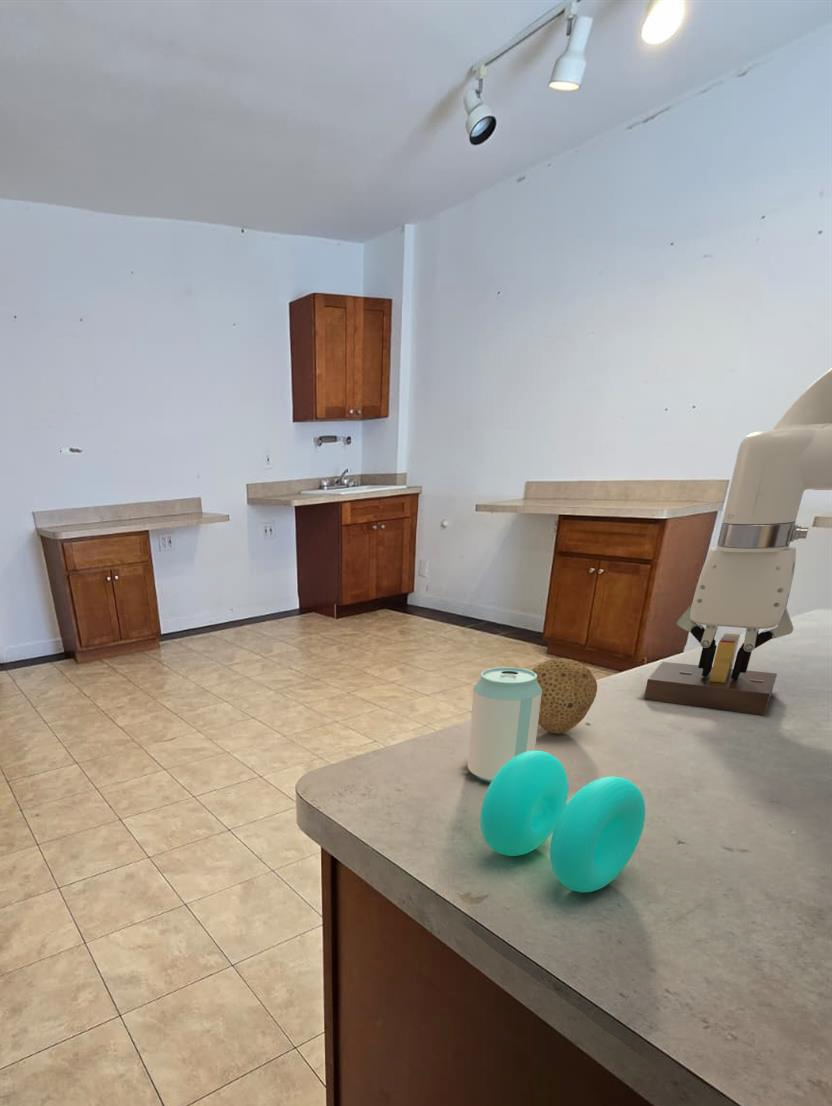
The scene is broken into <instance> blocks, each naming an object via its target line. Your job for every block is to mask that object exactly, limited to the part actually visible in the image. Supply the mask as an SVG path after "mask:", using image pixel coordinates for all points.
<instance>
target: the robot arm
mask: <svg viewBox="0 0 832 1106" xmlns="http://www.w3.org/2000/svg"><path fill="white" fill-rule="evenodd" d="M806 490H813V491H832V368H830V369H829V370H828V371H826V372H825V373H823V375H821V376H820V377H819V378H817V379H816V380H815V381H813V382H812V384H810V385H809V386H808V387H807V388H806V389H805V390H804V391H803V392H802V393H800V395H799V396H797V398H796V399H795V400H794V401H793V402H792V404H791V405H790V406H789V407H788V409H787V410H786V411H785V412H784V413H783V414H782V416H781V418H780V419H779V420H778V421H777V422H776V424H775V425H774V427H773V428H772V429H767V430H766V429H765V430H758V431H754V432H752V433H749V434H748V435H745V437H744V438H743V439H742V440H741V442H740V444H739V447H738V450H737V454H736V459H735V464H734V468H733V472H732V477H731V482H730V485H729V491H728V494H727V499H726V504H725V508H724V513H723V517H722V523H721V526H720V531H719V535H718V538H717V539H718V540H717V546H713V547H711V548H710V549H709V551H708V553H707V556H706V558H705V561H704V563H703V566H702V568H701V572H700V574H699V578H698V581H697V583H696V587H695V591H694V595H693V599H692V603H691V604H690V605H689V607H688V608H687V609H686V610H685V611H684V613H683V614H682V615H681V616H680V617H679V619H677V620H676V625H677V627H679V628H680V629H683V630H684V631H686V632H689V633H690V634H691V635H692V636H693V637H694V638H695V640H696V641H697V642H699V644H700V647H702V649H701V653H700V657H699V662H698V665H699V666H698V668H703V672H702V676H708V675H709V673H710V672H711V669H712V667H713V664H714V660H715V656H716V652H717V647H718V644H717V643H716V641H717V640H715V638H716V635H717V632H718V629H719V627H724V628H725V627H727V628H740V629H741V628H743V629H745V635H744V641H743V643H742V644H741V646H740V647H739V648H738V650H737V651H736V655H735V659H734V663H733V667H732V669H733V672H732V676H731V678H733V679H734V680H737V679H738V677H739V675H740V672H741V673H746V671H747V670H748V668H749V663H750V659H751V655H752V651H754V650H755V649H757V648H758V647H760V646H762V645H764V644H765V643H767V642H769V641H771V640H773V639H778V638H780V637H781V638H782V637H785V636H787V635H791V634H792V633H793V632H794V625H793V622H792V619H791V617H790V614H789V613H790V612H789V611H788V608H787V607H788V602H789V598H790V594H791V589H792V585H793V580H794V575H795V567H796V558H797V548H796V547H793V546H790V544H791V543H793V542H794V541H798V540H806V539H807V537H808V536H807V535H808V532H809V528H810V527H802V525H801V526H798V524H796V523H797V522H796V521H797V518H798V513H799V511H800V508H801V507H800V506H801V502H802V499H803V496H804V492H805V491H806ZM704 626H705V627H704ZM760 629H761V630H762V631H761V632H760Z"/></svg>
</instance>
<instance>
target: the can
mask: <svg viewBox="0 0 832 1106" xmlns="http://www.w3.org/2000/svg"><path fill="white" fill-rule="evenodd" d="M541 695H542V689H541V687H540V685H539V684H538V682H537V674H536V673H534V672H533V671H531V670H530V669H527V668H522V667H512V666H500V667H491V668H487V669H485V670H483V671H482V672H480V678H479V679H478V680H477V681H476V683H475V684H474V686H473V690H472V703H471V716H470V728H469V729H470V731H469V740H468V741H469V742H468V755H467V756H468V757H467V768H468V771H469V772H470V773H471V774H473V775H474V776H476V777H477V778H478V779H480V780H483V781H484V782H488V783H491V782H492V780H493V778H494V777H495V775H496V774H497V773H498V771H499V770H500V769H501V768H502V767H503V766H504V765H505V764H506V763H507V762H508V761H509V760H511V759H512V758H514V757H515V756H517V755H519V754H521V753H524V752H527V751H533V750H536V745H537V744H536V743H537V735H538V728H539V724H538V720H539V712H540V704H541Z"/></svg>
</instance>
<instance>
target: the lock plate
mask: <svg viewBox="0 0 832 1106" xmlns="http://www.w3.org/2000/svg"><path fill="white" fill-rule="evenodd" d="M698 666H699V664H688V663H679V662H671V661H670V662H668V661H661V662H660V663H659V665H658V666H657V667H656V668H655V670H654V671H653V672H652V673H651V675H650V676H648V678H647V681H646V685H645V692H644V696H643V699H644V700H650V701H655V702H656V701H657V702H664V703H670V704H677V705H684V706H685V705H686V706H692V707H693V706H694V707H701V708H707V709H714V710H723V711H730V712H737V713H745V714H752V715H759V716H765V713H766V711H767V708H768V706H769V702H770V699H771V696H772V693H773V689H774V686H775V682H776V679H777V676H778V673H775V672H767V671H757V670H748V669H747V671H746V673H741V672H740V675H739V677H738V679H737V680H734V679H733V678H731V676H732V672H733V668H732V670H731V673H730V675H729V677H728V679H727V680H726V682H725V683H721V682H712V681H710V677H711V673H712V669H711V672H710V673H709V675H708V676H702V672H703V668H698ZM712 668H713V666H712Z"/></svg>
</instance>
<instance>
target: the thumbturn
mask: <svg viewBox="0 0 832 1106" xmlns="http://www.w3.org/2000/svg"><path fill="white" fill-rule="evenodd" d="M740 638H741V634H740V633H724V634H723V635H722V636H721V638H720V640H719V641H718V643H717V648H716V652H715V656H714V660H713V664H712V667H713V668H712V673H711V677H710V681H712V682H721V683H725V682H726V680H727V679H728V677H729V675H730V673H731V670H732V669H733V667H734V663H735V659H736V655H737V651H738V650H737V649H738V646H739V641H740Z"/></svg>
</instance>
